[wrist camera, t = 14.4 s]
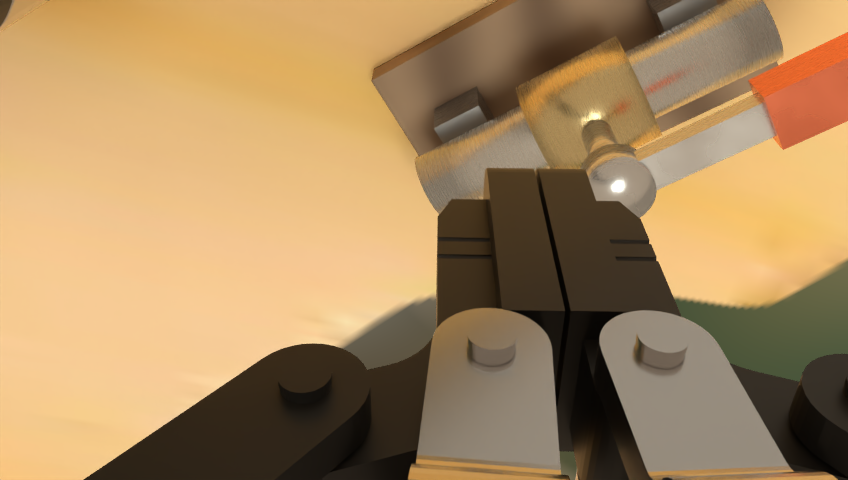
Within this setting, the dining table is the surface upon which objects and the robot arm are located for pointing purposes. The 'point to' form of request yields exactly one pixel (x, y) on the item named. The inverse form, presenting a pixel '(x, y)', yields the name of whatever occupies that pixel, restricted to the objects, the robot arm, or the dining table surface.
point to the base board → (518, 59)
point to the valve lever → (731, 128)
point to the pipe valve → (599, 96)
